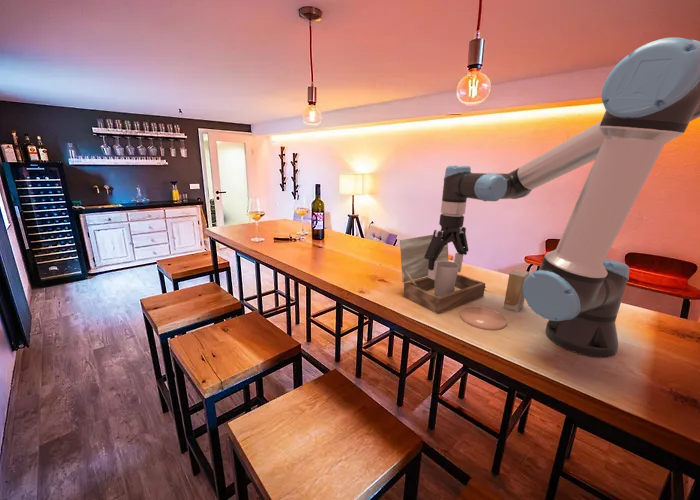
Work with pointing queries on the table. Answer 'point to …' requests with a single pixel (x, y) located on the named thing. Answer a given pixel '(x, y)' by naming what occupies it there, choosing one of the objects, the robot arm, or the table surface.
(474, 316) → the saucer
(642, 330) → the table surface
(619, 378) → the table surface
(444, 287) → the cup
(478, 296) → the hinged wooden box
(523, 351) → the table surface
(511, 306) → the skincare box
